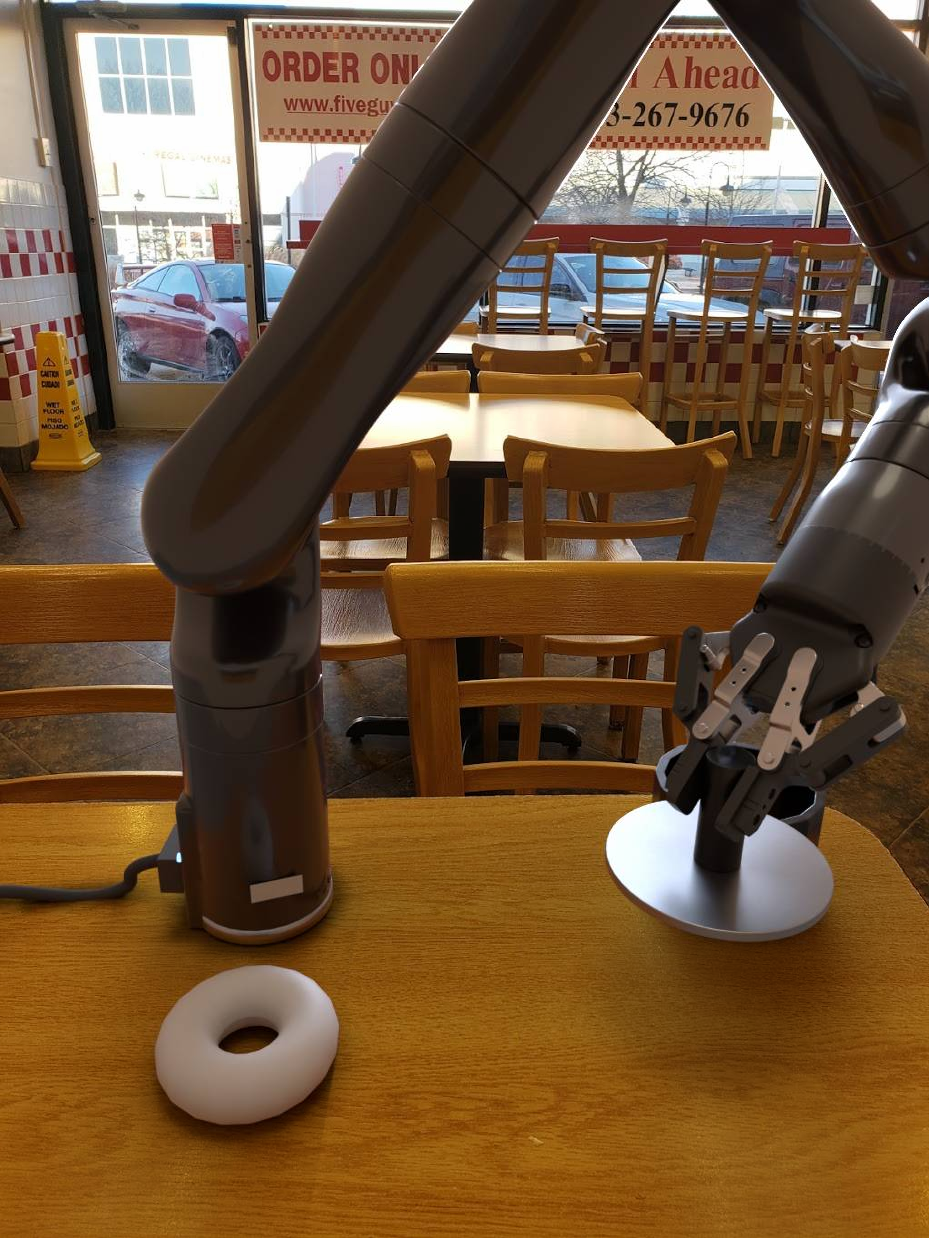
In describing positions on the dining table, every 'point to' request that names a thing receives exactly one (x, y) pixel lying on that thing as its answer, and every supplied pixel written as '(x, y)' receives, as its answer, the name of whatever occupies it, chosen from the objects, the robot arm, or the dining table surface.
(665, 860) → the lid
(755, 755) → the pot
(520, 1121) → the dining table surface
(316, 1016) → the donut
